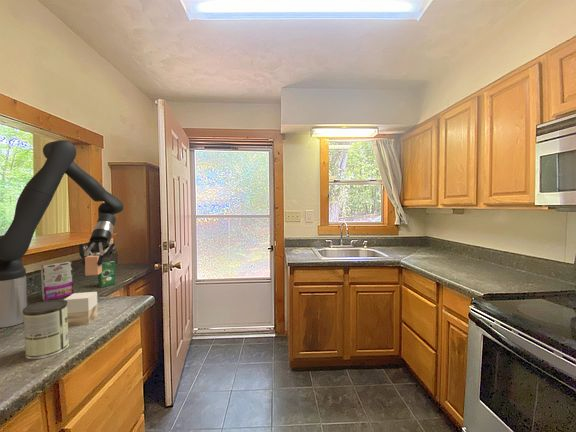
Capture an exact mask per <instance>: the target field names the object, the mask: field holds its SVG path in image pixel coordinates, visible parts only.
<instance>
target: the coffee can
mask: <svg viewBox="0 0 576 432" xmlns="http://www.w3.org/2000/svg"><path fill="white" fill-rule="evenodd" d="M23 318H24V322H23V330H24V333H23V334H24V349H25V351H24V352H25V359H27V360H40V359H44V358H45V359H46V358H49V357H50V358H51V357H52V356H56V355H57V354H60V353H62V352H63V351H65V350H67V349H68V348H69V346H70V344H69V326H68V317H67V301H66V300H64V299H53V300H49V301H44V300H43V301H40V302H37V303H32V304H30V305H27V307H25V308H24V309H23Z"/></svg>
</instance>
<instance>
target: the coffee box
mask: <svg viewBox="0 0 576 432" xmlns="http://www.w3.org/2000/svg"><path fill="white" fill-rule="evenodd" d="M97 277H98V278H97V280H98V282H97V283H98V284H97V286H98V288H105V287H109V286H113V285H116V261H115V260H112V261H111V260H110V261H106V262H104V261H103V264H102V273H100V274H98V275H97Z"/></svg>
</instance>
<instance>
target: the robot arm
mask: <svg viewBox="0 0 576 432" xmlns="http://www.w3.org/2000/svg"><path fill="white" fill-rule="evenodd" d="M42 154H43V156H44V157H45V158H46V160H45V161H44V164H43V166H42V167H41V168H40V169H39V170H38V172H36V173H35V174H34V175H33V176H32V177H31V178H30V180H29V181H28V182H27V183H26V184H25V185H24V187H23V189H22V191H21V193H20V195H19V196H18V198H17V201H16V205H15V210H14V216H13V219H12V222H11V224H10V226H9V227H8V229H7V230H6V232H5V233H4V234H2V235H0V328H7V327H8V328H9V327H12V326H17V325H19V324H24V318H23V309H24V308H25V307H27V306H28V291H27V290H28V287H27V269H26V268H25V266H24V264H23V261H22V259H23V256H25V255H26V254H27V252H28V250H29V248H30V245H31V242H32V240H33V237H34V235H35V231H36V229H37V227H38V225H39V224H40V222H41V220H42V218H43V217H44V215H45V212H46V211H47V209H48V207H49V206H50V205H51V202H52V200H53V198H54V196H55V194H56V191H57V189H58V188H59V186H60V183H61V181H62V179H63V177H64V175H65V174H66V175H67V176H68V177H69V178H70V179H71V180H72V181H73V182H74V183H76V184H77V185H78V186H79V188H80V189H81V190H83V192H84V193H86V195H87V196H88V197H90V199H91V200H92V201H93V202H97V203H98V202H103V203H101V204H100V205H98V207H97V208H98V209H97V211H98V213H97V214H98V215H97V217H98V218H97V220H96V223H95V226H94V228H93V230H92V232H91V235H90V238H89V242H87V244H82V243H81V244H78V245H79V246H78V249H79V250H78V251H79V252H78V254H79V256H80V258H81V259H82V261H81V265H82V266H83V267H84V268H85V257H87V256H90V255H94V254H96V253H98V254H99V255H100V256H99V259H98V262H97V264H98V266H101V265H102V264H103V263H104V259H106V258H111V256H112V254H113V253H114V251H115V250H116V249H117V245H115V244H116V243H113V242H112V243H111V239H112V237H113V235H114V234H113V233H114V228H115V225H116V221H117V218H116V216H115V215H117V214H120V213H121V212H123V210H124V204H123V202H122V201H121V200H120V199H119V198H118V197H116V196H115V195H114V194H112V193H110V192H109V191H108V190H106V189H105V187H104V186H103V185H102V184H101V182H99V181H98V180H97V179H96V178H94V177H93V176H92V175H90V174H89V173H87V172H86V171H85V170H84V169H82V167H80V166H79V165H78V164H77V163H76V162H75V159H76V157H77V148H76V147H75V145H74V144H73V143H72V142H70V141H68V140H64V139H62V140H61V139H60V140H59V139H58V140H54V141H51V142H48V143H45V144H44V145H43V148H42ZM86 249H87V250H86ZM85 251H86V252H85Z"/></svg>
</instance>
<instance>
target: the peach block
mask: <svg viewBox="0 0 576 432" xmlns="http://www.w3.org/2000/svg"><path fill="white" fill-rule="evenodd" d="M99 256H100V254H99V255H98V254H95V255H94V254H93V255H90V256H87V257H85V267H84V274H85V275H84V276H98V274H100V273H102V265H101V266H98V264H97V262H98V259H99Z"/></svg>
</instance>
